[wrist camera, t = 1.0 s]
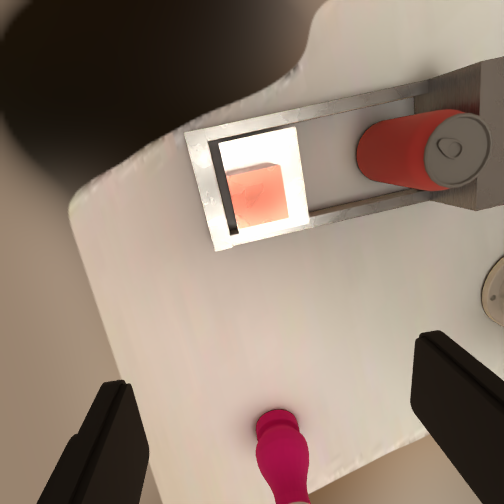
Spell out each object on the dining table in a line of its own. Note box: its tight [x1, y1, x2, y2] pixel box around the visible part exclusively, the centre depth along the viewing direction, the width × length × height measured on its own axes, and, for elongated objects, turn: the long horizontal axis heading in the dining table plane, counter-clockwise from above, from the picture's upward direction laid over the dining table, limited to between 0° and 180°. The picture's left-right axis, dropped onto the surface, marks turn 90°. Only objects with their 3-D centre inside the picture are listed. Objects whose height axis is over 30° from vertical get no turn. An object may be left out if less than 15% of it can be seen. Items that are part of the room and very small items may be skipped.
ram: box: [218, 127, 310, 239], centre depth 28 cm, size 7×9×12 cm
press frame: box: [184, 57, 504, 252], centre depth 30 cm, size 28×12×9 cm, turn 102°
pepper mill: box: [256, 410, 311, 504], centre depth 37 cm, size 7×7×20 cm
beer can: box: [357, 109, 493, 191], centre depth 29 cm, size 7×7×12 cm
